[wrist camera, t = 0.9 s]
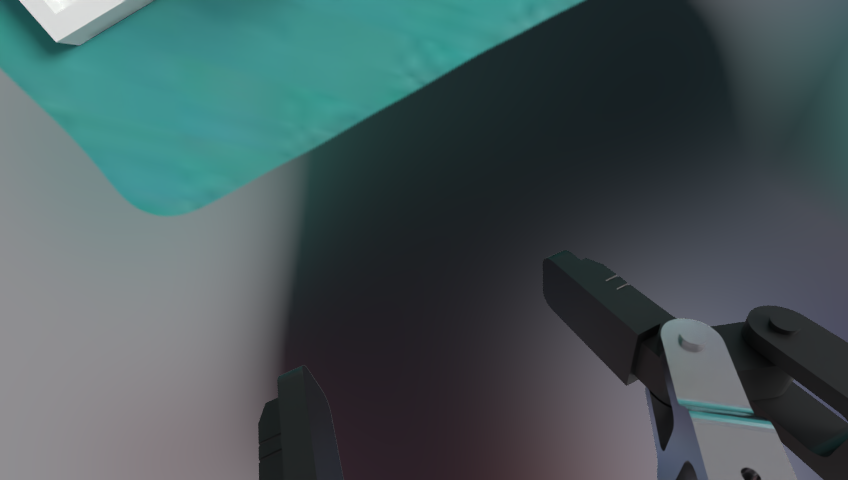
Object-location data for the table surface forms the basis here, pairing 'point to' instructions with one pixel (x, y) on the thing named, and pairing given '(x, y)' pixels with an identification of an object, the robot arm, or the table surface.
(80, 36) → the white tray
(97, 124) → the table surface
